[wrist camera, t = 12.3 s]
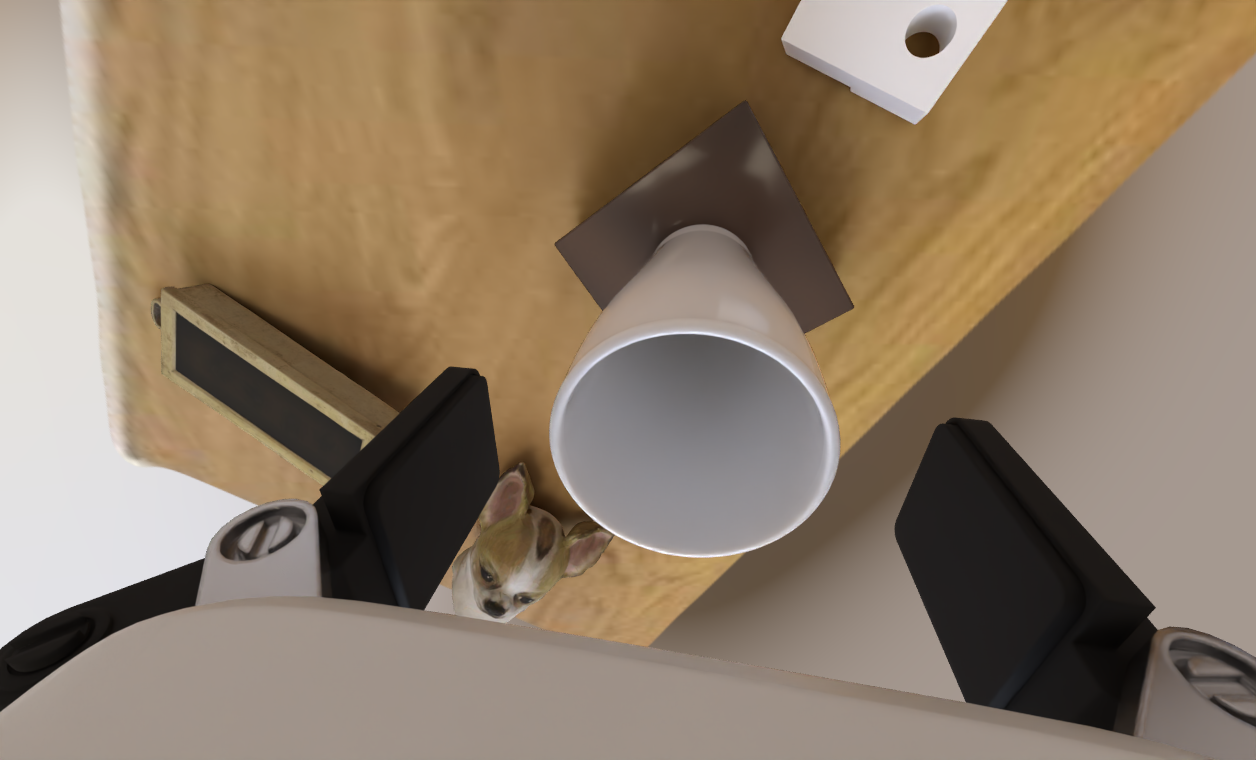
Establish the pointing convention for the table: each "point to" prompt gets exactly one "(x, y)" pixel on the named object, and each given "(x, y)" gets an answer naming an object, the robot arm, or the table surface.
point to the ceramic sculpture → (519, 553)
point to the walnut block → (713, 220)
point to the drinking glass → (696, 406)
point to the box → (265, 381)
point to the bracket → (888, 46)
